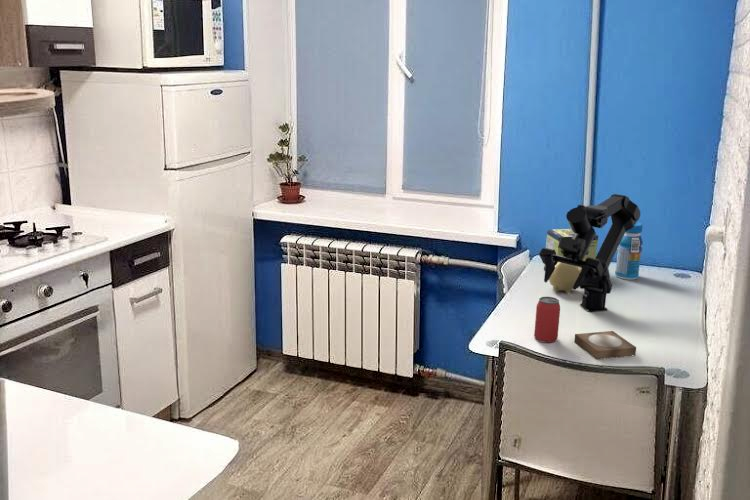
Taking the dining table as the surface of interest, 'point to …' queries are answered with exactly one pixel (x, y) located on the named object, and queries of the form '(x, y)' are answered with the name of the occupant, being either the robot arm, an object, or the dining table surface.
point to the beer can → (547, 319)
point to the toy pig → (564, 276)
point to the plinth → (605, 345)
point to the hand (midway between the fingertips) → (559, 285)
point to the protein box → (555, 236)
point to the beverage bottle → (629, 253)
